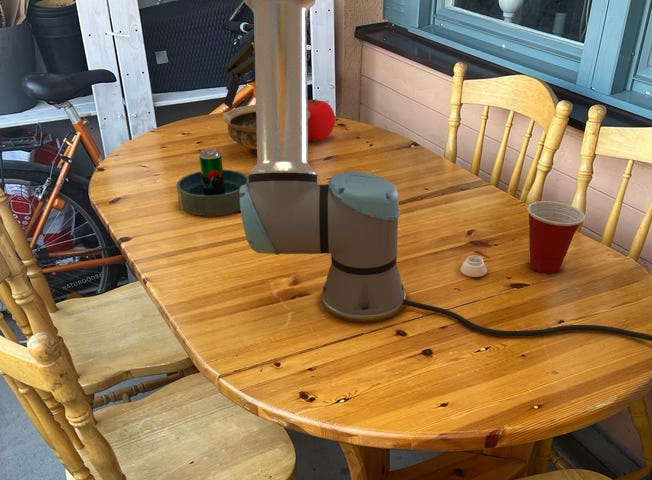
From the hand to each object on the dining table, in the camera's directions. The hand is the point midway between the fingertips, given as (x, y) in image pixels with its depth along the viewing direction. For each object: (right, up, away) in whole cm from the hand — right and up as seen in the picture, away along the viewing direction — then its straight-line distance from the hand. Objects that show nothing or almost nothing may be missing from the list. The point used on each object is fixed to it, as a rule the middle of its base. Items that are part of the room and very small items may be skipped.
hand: (252, 114), depth 161 cm
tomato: (+13, +13, +40) cm, 44 cm away
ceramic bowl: (0, +3, +36) cm, 36 cm away
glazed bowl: (-10, -19, +6) cm, 22 cm away
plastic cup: (+61, -38, -22) cm, 75 cm away
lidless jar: (+46, -39, -23) cm, 65 cm away
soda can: (-9, -19, +6) cm, 22 cm away
